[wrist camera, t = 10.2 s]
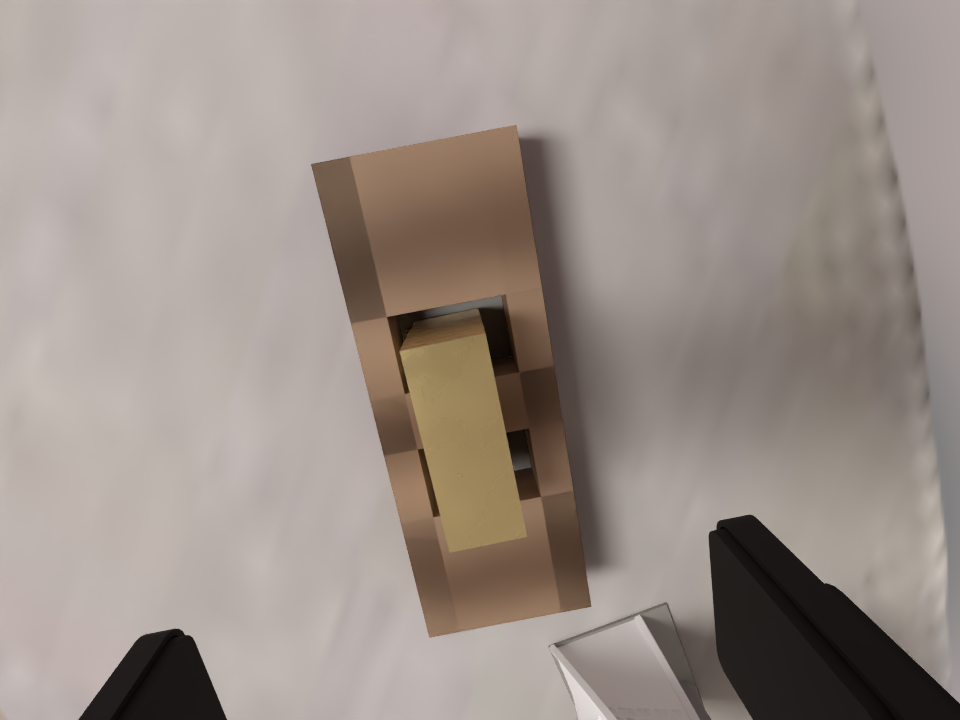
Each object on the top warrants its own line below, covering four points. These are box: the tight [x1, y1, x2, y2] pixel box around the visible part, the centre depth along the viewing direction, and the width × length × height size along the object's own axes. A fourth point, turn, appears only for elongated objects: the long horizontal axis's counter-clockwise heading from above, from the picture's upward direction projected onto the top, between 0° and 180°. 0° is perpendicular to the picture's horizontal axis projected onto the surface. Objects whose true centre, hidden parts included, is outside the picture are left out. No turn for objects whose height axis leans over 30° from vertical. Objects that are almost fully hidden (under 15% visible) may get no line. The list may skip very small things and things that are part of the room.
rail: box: [311, 125, 591, 637], centre depth 24 cm, size 22×8×3 cm, turn 10°
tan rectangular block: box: [400, 309, 527, 553], centre depth 22 cm, size 8×3×7 cm, turn 11°
